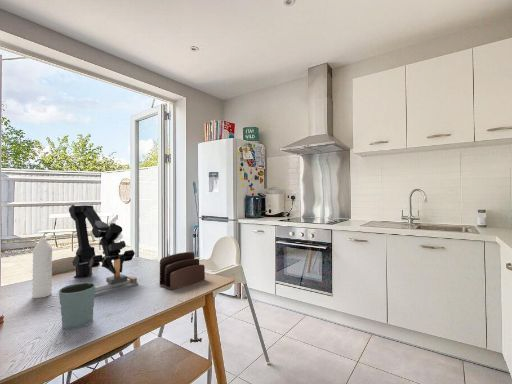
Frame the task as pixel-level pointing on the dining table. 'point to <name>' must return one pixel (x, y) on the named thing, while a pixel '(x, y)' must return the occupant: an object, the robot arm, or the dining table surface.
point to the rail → (115, 286)
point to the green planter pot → (77, 305)
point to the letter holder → (180, 270)
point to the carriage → (116, 274)
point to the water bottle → (42, 269)
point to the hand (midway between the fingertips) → (118, 272)
